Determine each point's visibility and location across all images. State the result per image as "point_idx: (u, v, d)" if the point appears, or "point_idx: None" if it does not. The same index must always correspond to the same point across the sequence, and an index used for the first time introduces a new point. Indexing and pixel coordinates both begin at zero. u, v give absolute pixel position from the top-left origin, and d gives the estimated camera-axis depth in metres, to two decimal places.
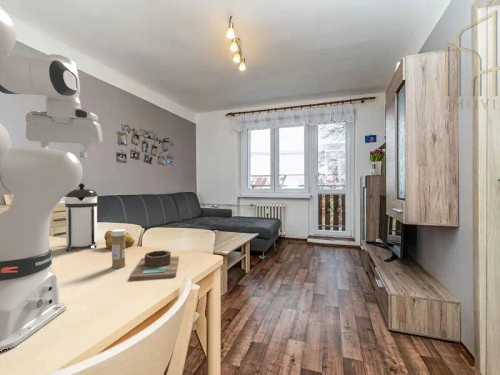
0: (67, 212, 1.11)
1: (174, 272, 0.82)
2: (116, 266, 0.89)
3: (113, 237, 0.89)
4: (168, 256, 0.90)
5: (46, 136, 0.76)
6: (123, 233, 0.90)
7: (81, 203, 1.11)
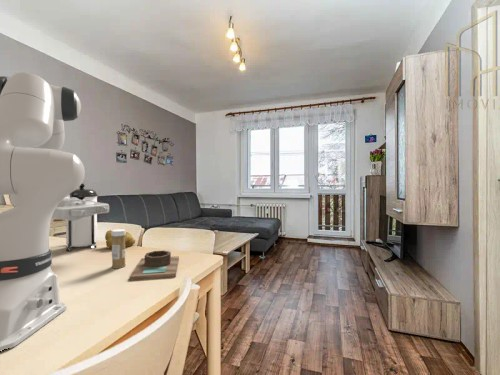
0: None
1: (174, 272, 0.82)
2: (116, 266, 0.89)
3: (113, 237, 0.89)
4: (168, 256, 0.90)
5: (73, 207, 0.94)
6: (123, 233, 0.90)
7: None
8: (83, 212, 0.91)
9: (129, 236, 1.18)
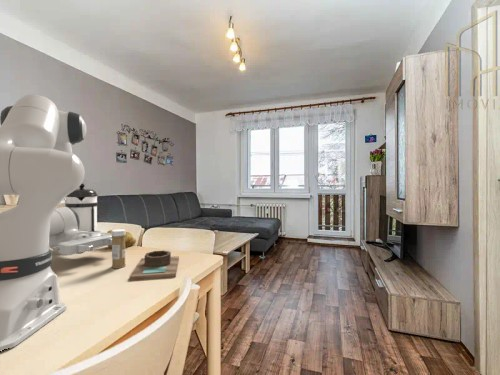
0: None
1: (174, 272, 0.82)
2: (116, 266, 0.89)
3: (113, 237, 0.89)
4: (168, 256, 0.90)
5: (80, 241, 0.92)
6: (123, 233, 0.90)
7: (81, 203, 1.11)
8: (91, 248, 0.90)
9: (130, 236, 1.18)
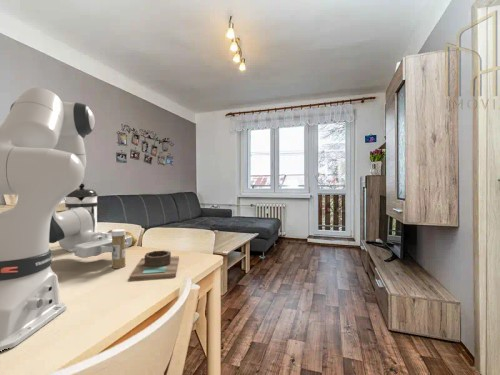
0: None
1: (174, 272, 0.82)
2: (116, 266, 0.89)
3: (113, 237, 0.89)
4: (168, 256, 0.90)
5: (97, 243, 0.89)
6: (123, 233, 0.90)
7: (81, 203, 1.11)
8: (113, 249, 0.88)
9: None
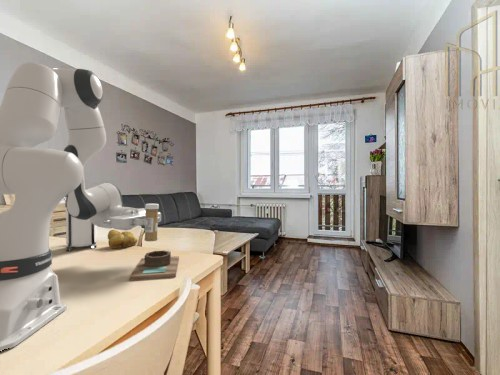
0: (67, 212, 1.11)
1: (174, 272, 0.82)
2: (149, 239, 0.89)
3: (147, 210, 0.89)
4: (168, 256, 0.90)
5: (131, 216, 0.89)
6: (157, 207, 0.91)
7: None
8: (147, 221, 0.88)
9: (131, 236, 1.19)
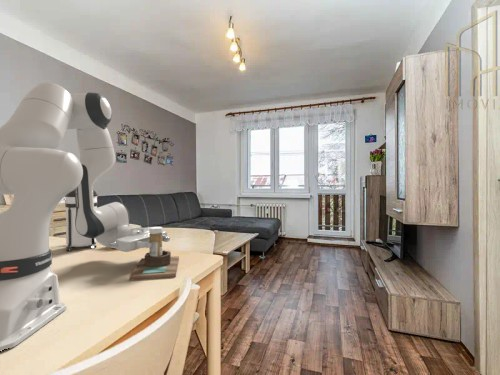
0: (67, 212, 1.11)
1: (174, 272, 0.82)
2: None
3: (151, 234, 0.88)
4: (168, 256, 0.90)
5: (137, 238, 0.89)
6: (161, 230, 0.89)
7: None
8: (150, 244, 0.86)
9: None
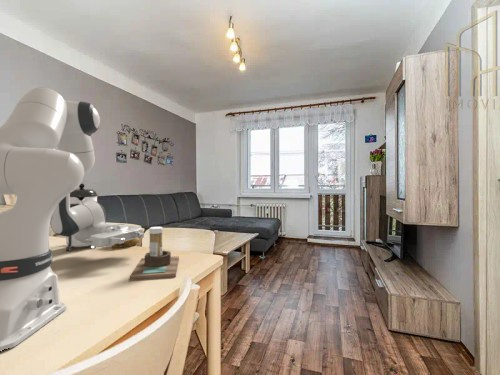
0: None
1: (174, 272, 0.82)
2: None
3: (151, 234, 0.88)
4: (168, 256, 0.90)
5: (111, 234, 0.94)
6: (161, 230, 0.89)
7: (81, 203, 1.11)
8: (122, 240, 0.91)
9: None
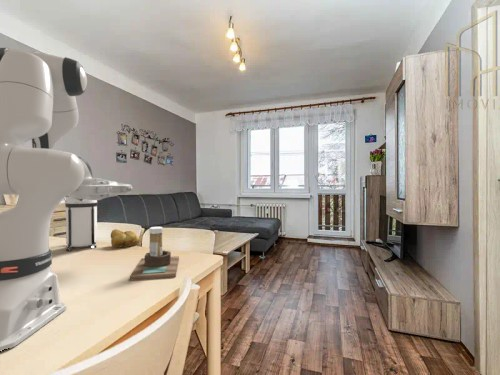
0: (67, 212, 1.11)
1: (174, 272, 0.82)
2: None
3: (151, 234, 0.88)
4: (168, 256, 0.90)
5: (98, 185, 0.93)
6: (161, 230, 0.89)
7: (81, 203, 1.11)
8: (109, 189, 0.90)
9: (133, 235, 1.19)
